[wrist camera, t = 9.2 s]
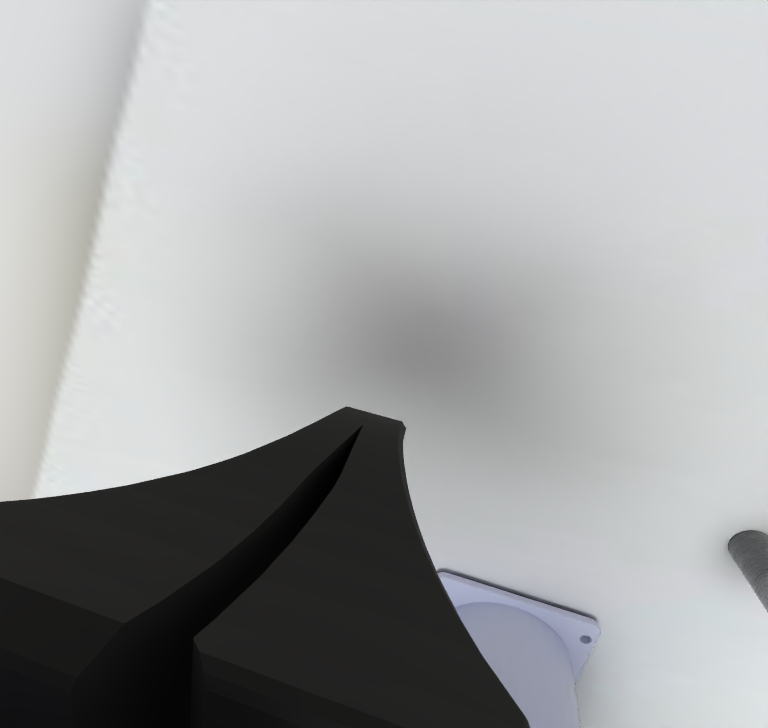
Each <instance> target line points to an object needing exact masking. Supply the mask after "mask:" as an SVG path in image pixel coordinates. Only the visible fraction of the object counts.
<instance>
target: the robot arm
mask: <svg viewBox="0 0 768 728" xmlns="http://www.w3.org/2000/svg"><path fill="white" fill-rule="evenodd" d="M405 430H406V427H405V426H404V424H403V422H402V421H398V420H394V419H391V418H387V417H383V416H380V415H376V414H372V413H369V412H365V411H362V410H358V409H354V408H351V407H344V408H342V409H340V410H338V411H336V412H334V413H332V414H330V415H328V416H326V417H324V418H322V419H321V420H319V421H317V422H315V423H313V424H311V425H309V426H306V427H304V428H302V429H300V430H298V431H296V432H294V433H292V434H290V435H288V436H286V437H283V438H281V439H279V440H276V441H274V442H271V443H269V444H267V445H264V446H262V447H259V448H257V449H255V450H252V451H250V452H247V453H245V454H242V455H239V456H237V457H234V458H231V459H228V460H225V461H222V462H219V463H215V464H212V465H209V466H205V467H202V468H199V469H195V470H192V471H188V472H184V473H180V474H176V475H171V476H167V477H162V478H158V479H154V480H149V481H145V482H140V483H136V484H132V485H126V486H121V487H115V488H109V489H103V490H97V491H91V492H84V493H77V494H70V495H63V496H56V497H47V498H38V499H29V500H18V501H5V502H0V728H581V725H580V718H579V712H578V705H577V699H576V692H575V684H576V682H577V680H578V678H579V676H580V674H581V672H582V670H583V668H584V666H585V664H586V662H587V660H588V658H589V656H590V654H591V652H592V650H593V648H594V646H595V644H596V642H597V640H598V638H599V636H600V632H601V631H600V627H599V624H598V623H597V622H596V621H595V620H593V619H591V618H588V617H585V616H582V615H579V614H575V613H572V612H569V611H566V610H563V609H560V608H557V607H553V606H550V605H547V604H544V603H541V602H538V601H535V600H531V599H528V598H525V597H522V596H519V595H516V594H512V593H509V592H506V591H503V590H500V589H497V588H494V587H490V586H487V585H484V584H481V583H478V582H475V581H472V580H468V579H465V578H462V577H459V576H456V575H453V574H449V573H446V572H440V573H438V574H437V572H436V570H435V567H434V565H433V563H432V560H431V558H430V555H429V553H428V551H427V548H426V546H425V543H424V540H423V538H422V535H421V532H420V529H419V526H418V523H417V520H416V517H415V513H414V510H413V506H412V502H411V498H410V494H409V490H408V485H407V480H406V473H405V467H404V458H403V439H404V435H405ZM584 635H586V637H584Z"/></svg>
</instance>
